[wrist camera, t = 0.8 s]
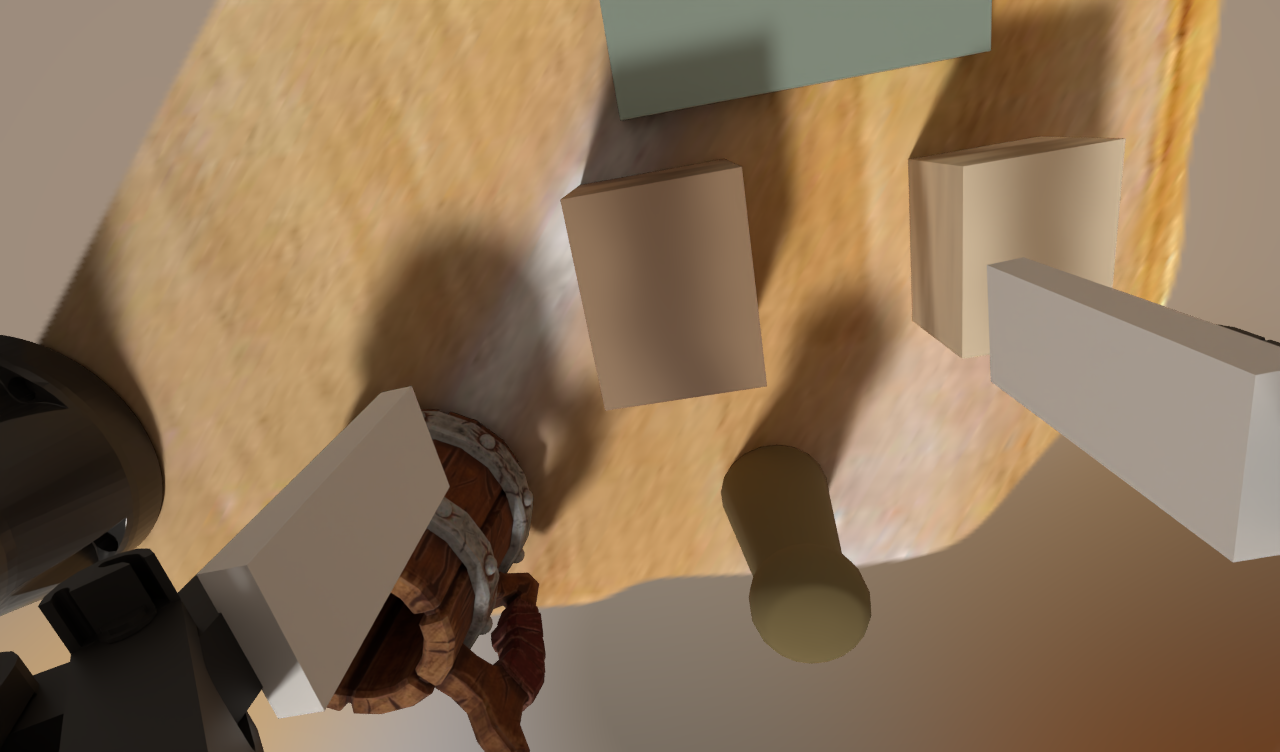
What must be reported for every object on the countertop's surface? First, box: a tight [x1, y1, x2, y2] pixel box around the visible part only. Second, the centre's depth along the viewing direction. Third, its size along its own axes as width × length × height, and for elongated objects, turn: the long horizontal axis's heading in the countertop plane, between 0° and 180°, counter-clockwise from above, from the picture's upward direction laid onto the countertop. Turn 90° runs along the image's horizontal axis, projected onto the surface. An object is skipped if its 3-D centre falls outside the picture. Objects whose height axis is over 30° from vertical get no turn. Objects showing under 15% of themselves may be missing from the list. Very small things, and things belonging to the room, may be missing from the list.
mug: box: [327, 409, 545, 752], centre depth 32 cm, size 12×14×15 cm
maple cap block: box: [908, 136, 1126, 359], centre depth 29 cm, size 6×8×6 cm
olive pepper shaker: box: [721, 445, 871, 663], centre depth 32 cm, size 6×6×11 cm
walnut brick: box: [561, 159, 767, 411], centre depth 29 cm, size 7×9×7 cm
